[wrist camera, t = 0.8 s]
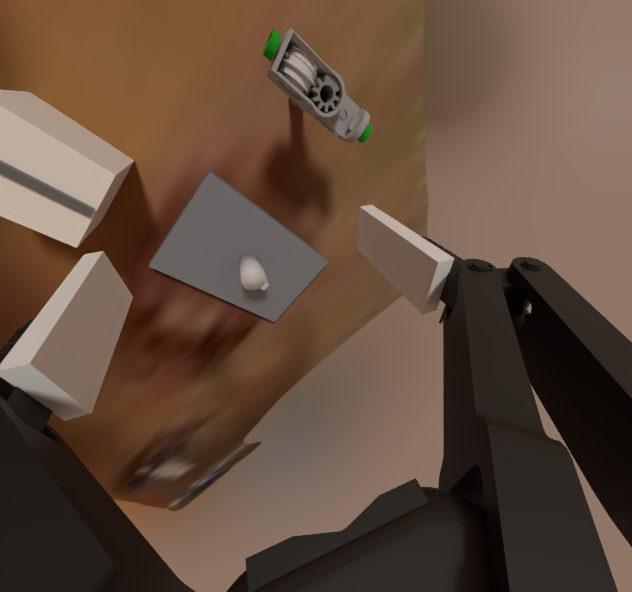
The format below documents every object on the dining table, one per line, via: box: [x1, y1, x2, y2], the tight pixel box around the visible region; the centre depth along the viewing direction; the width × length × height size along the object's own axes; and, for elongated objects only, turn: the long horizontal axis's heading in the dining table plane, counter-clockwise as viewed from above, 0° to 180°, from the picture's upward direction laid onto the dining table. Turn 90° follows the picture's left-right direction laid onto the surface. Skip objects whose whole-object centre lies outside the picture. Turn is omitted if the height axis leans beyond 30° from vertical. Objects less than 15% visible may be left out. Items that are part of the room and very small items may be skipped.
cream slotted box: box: [0, 90, 134, 248], centre depth 22 cm, size 8×8×7 cm
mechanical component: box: [263, 27, 372, 143], centre depth 24 cm, size 3×10×10 cm, turn 57°
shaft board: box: [149, 170, 329, 322], centre depth 34 cm, size 20×14×6 cm
